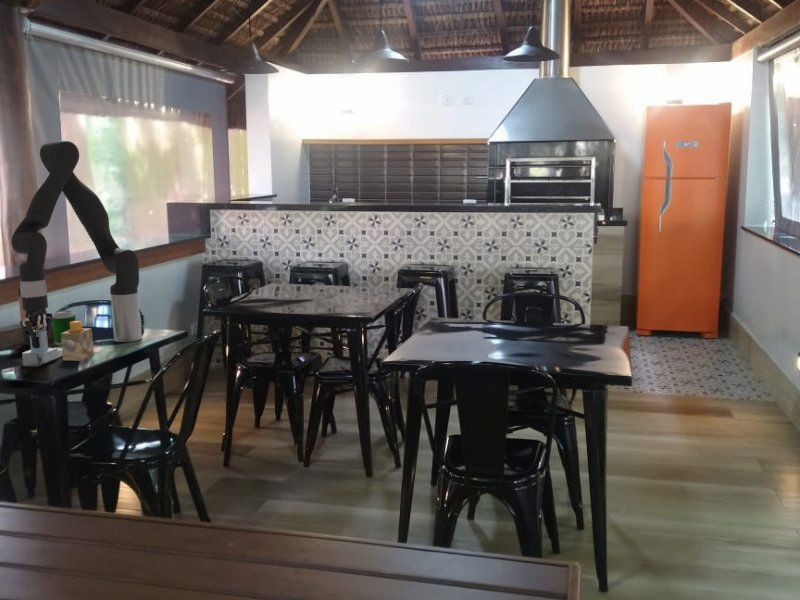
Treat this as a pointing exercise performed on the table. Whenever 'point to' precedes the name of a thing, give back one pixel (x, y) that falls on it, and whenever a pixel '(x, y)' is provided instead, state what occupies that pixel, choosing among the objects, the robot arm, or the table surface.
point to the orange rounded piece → (76, 326)
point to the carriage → (43, 348)
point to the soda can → (61, 324)
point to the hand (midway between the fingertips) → (39, 346)
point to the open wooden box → (77, 344)
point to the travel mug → (22, 315)
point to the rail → (34, 359)
